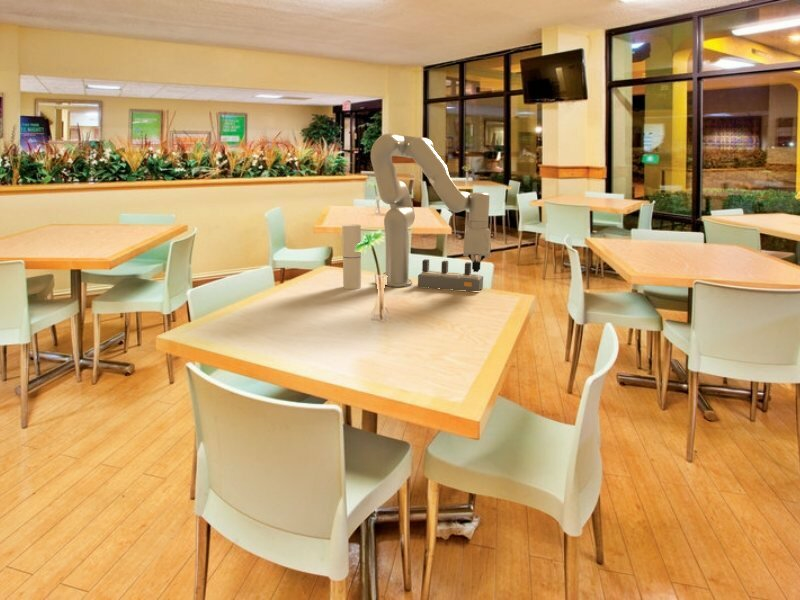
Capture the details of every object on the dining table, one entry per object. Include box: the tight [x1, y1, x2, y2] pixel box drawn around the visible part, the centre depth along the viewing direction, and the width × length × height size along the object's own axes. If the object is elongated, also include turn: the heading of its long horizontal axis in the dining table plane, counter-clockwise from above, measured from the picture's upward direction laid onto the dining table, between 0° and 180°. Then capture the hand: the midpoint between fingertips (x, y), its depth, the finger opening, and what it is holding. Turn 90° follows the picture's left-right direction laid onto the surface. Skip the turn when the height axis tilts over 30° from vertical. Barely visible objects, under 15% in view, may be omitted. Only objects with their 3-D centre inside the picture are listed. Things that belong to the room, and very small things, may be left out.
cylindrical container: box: [341, 223, 362, 290], centre depth 217 cm, size 7×7×25 cm
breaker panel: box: [417, 270, 484, 292], centre depth 220 cm, size 25×8×6 cm, turn 72°
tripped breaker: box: [464, 261, 472, 275], centre depth 216 cm, size 2×3×4 cm, turn 161°
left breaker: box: [421, 259, 430, 272], centre depth 222 cm, size 2×3×4 cm, turn 162°
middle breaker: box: [440, 260, 449, 273], centre depth 219 cm, size 2×3×4 cm, turn 161°
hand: (476, 271), depth 216 cm, fingers closed
